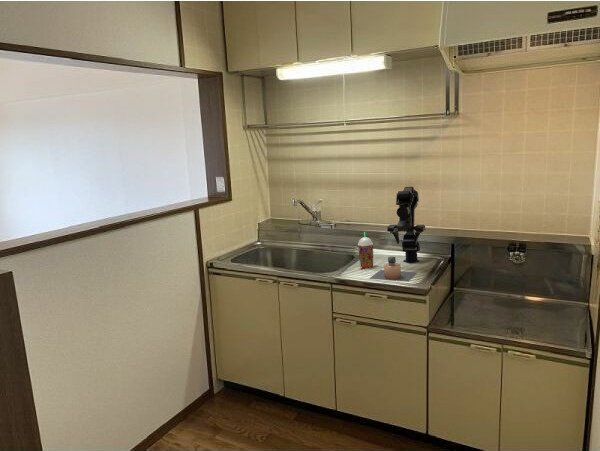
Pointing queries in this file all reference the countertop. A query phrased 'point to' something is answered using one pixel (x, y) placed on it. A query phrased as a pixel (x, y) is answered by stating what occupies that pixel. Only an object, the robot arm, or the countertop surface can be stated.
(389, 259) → the pump head
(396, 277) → the pump bottle
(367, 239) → the smoothie
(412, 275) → the drip mat
